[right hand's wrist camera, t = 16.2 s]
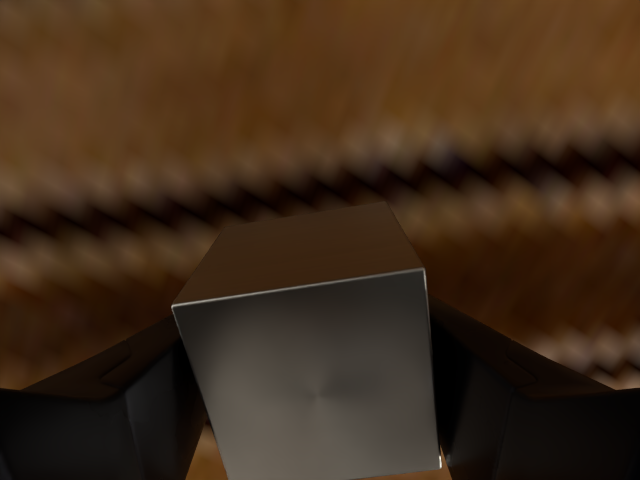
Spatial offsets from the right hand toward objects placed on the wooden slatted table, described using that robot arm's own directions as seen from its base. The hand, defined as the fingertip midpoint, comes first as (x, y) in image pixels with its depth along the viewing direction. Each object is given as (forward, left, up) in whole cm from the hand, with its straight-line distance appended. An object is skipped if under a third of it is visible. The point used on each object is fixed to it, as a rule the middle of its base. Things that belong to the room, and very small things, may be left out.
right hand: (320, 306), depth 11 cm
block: (0, 0, -1) cm, 1 cm away
